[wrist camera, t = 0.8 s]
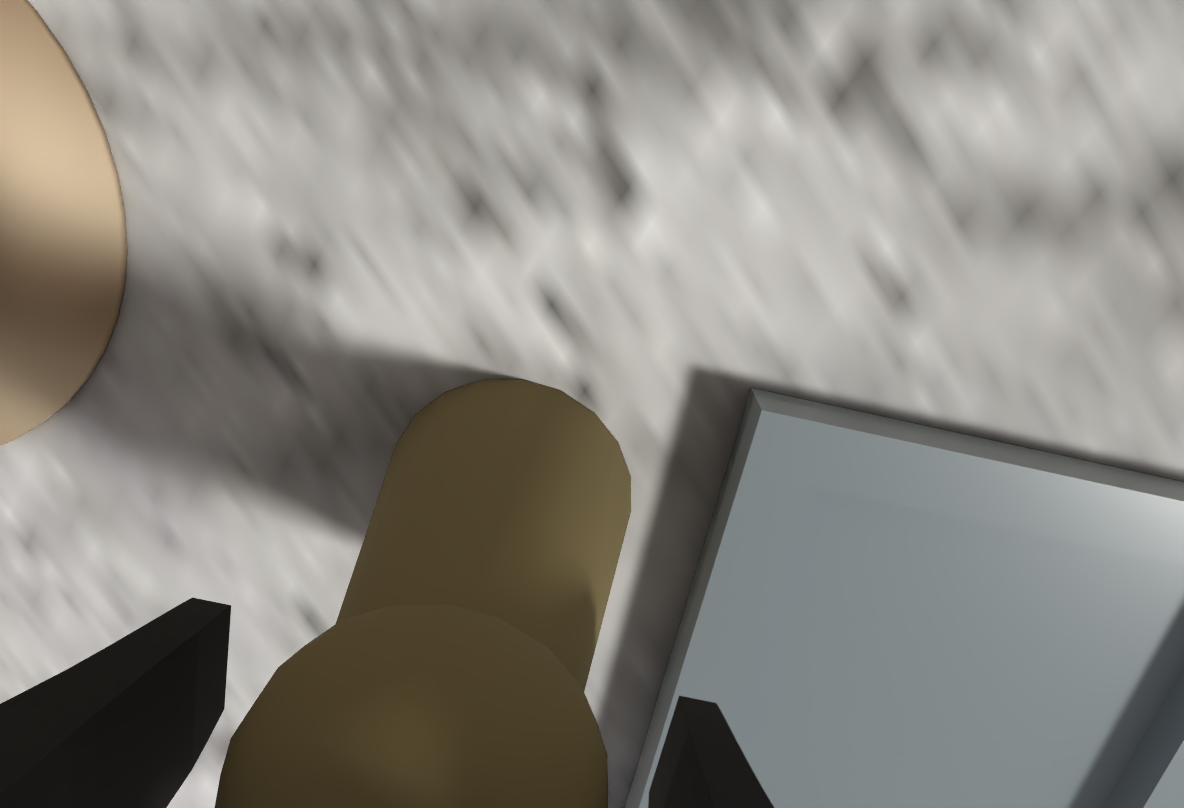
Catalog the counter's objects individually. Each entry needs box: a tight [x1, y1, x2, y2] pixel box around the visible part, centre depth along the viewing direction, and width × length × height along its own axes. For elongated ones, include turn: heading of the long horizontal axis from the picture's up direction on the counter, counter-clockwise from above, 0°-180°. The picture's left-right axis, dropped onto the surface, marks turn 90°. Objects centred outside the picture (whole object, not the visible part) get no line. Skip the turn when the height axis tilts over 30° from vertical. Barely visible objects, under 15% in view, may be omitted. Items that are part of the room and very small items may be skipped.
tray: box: [625, 388, 1184, 808], centre depth 21 cm, size 20×14×2 cm
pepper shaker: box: [215, 379, 631, 808], centre depth 14 cm, size 6×6×11 cm
